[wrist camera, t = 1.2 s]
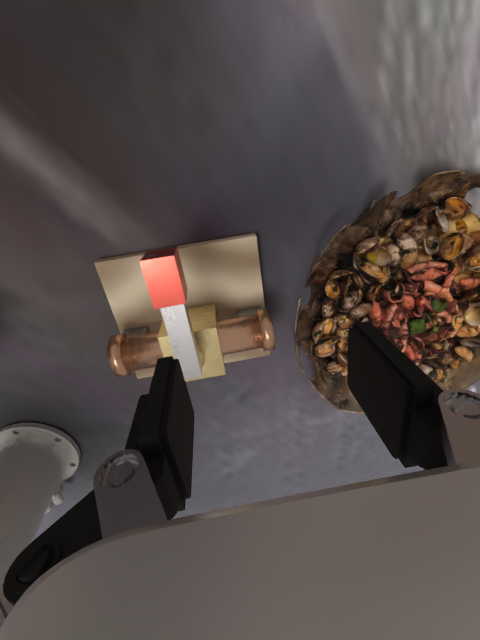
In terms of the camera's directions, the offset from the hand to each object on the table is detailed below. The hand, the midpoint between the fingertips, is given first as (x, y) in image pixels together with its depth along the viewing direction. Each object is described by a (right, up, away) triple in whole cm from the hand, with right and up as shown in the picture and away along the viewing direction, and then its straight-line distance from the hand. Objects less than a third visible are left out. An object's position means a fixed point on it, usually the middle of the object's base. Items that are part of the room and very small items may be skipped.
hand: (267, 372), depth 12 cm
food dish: (+21, +3, +30) cm, 37 cm away
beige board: (-7, +3, +26) cm, 28 cm away
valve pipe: (-7, +1, +26) cm, 27 cm away
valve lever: (-7, +3, +17) cm, 18 cm away
